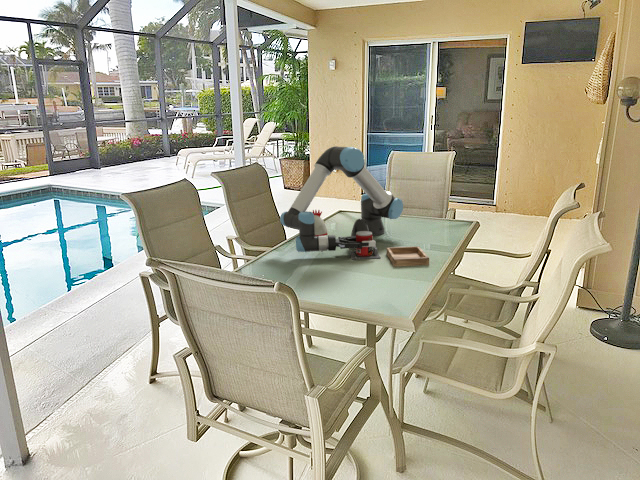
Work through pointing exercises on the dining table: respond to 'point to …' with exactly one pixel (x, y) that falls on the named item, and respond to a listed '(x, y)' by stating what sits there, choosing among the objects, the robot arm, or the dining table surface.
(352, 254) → the frame
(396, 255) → the tray
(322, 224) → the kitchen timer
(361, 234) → the canned food
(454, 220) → the dining table surface
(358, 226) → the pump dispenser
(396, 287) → the dining table surface
